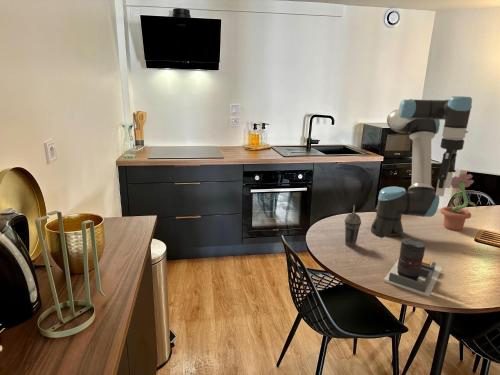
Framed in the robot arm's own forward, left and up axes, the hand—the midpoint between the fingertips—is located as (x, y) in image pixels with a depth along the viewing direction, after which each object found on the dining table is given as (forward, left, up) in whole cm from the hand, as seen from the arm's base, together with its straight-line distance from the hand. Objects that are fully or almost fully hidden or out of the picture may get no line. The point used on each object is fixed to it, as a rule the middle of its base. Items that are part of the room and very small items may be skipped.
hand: (443, 191), depth 138 cm
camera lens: (-4, -22, -31) cm, 38 cm away
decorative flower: (+2, +48, -32) cm, 57 cm away
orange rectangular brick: (-3, -9, -30) cm, 32 cm away
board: (-3, -16, -31) cm, 35 cm away
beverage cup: (-33, -6, -32) cm, 46 cm away
